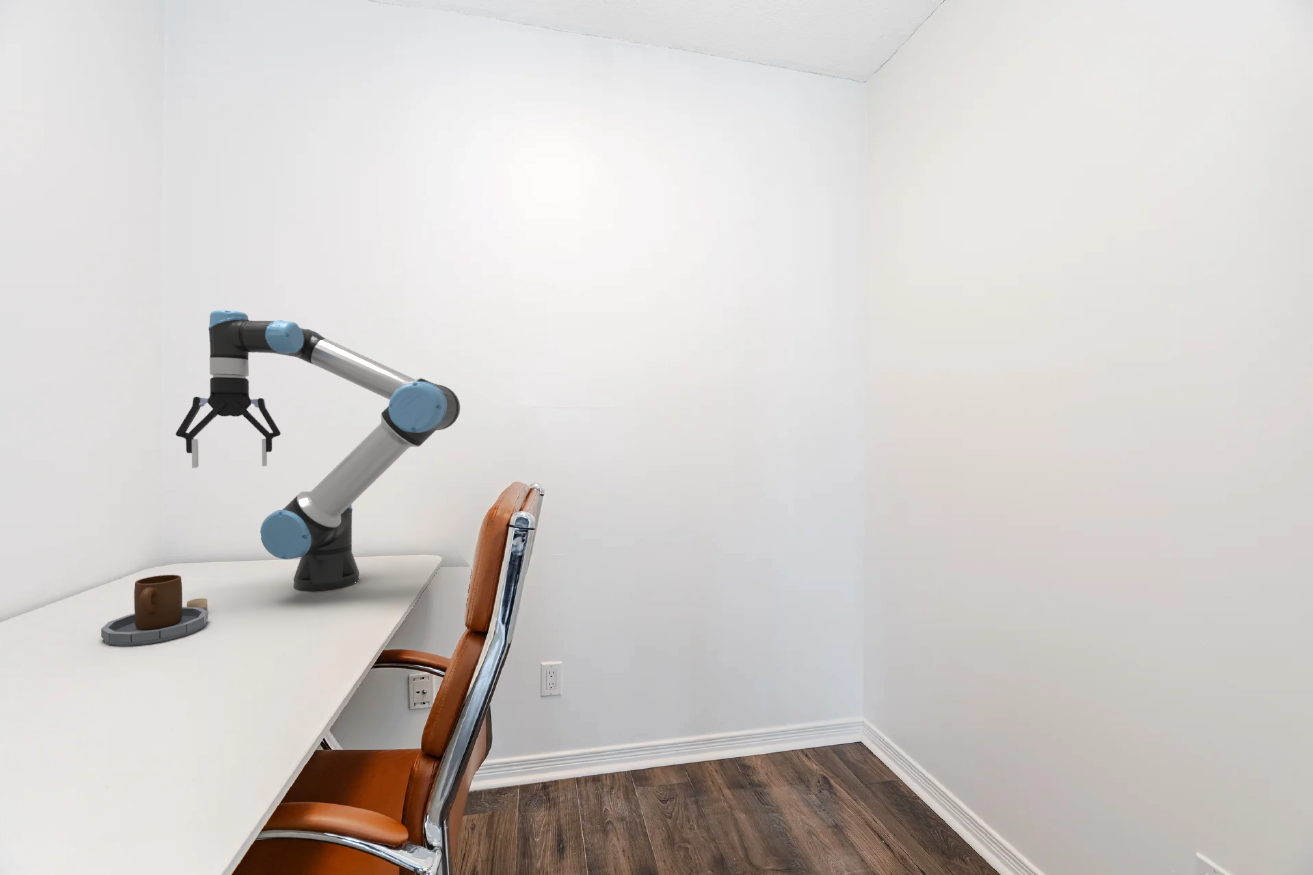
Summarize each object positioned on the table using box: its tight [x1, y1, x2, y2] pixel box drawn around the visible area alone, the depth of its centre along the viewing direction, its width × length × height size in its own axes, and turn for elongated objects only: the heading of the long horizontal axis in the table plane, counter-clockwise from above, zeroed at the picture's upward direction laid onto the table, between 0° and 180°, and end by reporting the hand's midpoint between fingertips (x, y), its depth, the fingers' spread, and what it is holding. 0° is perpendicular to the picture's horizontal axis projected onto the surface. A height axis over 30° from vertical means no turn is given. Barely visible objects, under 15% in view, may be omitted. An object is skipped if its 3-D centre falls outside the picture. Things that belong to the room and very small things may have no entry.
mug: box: [133, 574, 183, 630], centre depth 122 cm, size 12×8×9 cm, turn 24°
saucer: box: [100, 606, 209, 647], centre depth 123 cm, size 16×16×2 cm
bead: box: [186, 597, 208, 611], centre depth 134 cm, size 4×4×3 cm
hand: (230, 466), depth 144 cm, fingers open, 13 cm apart
